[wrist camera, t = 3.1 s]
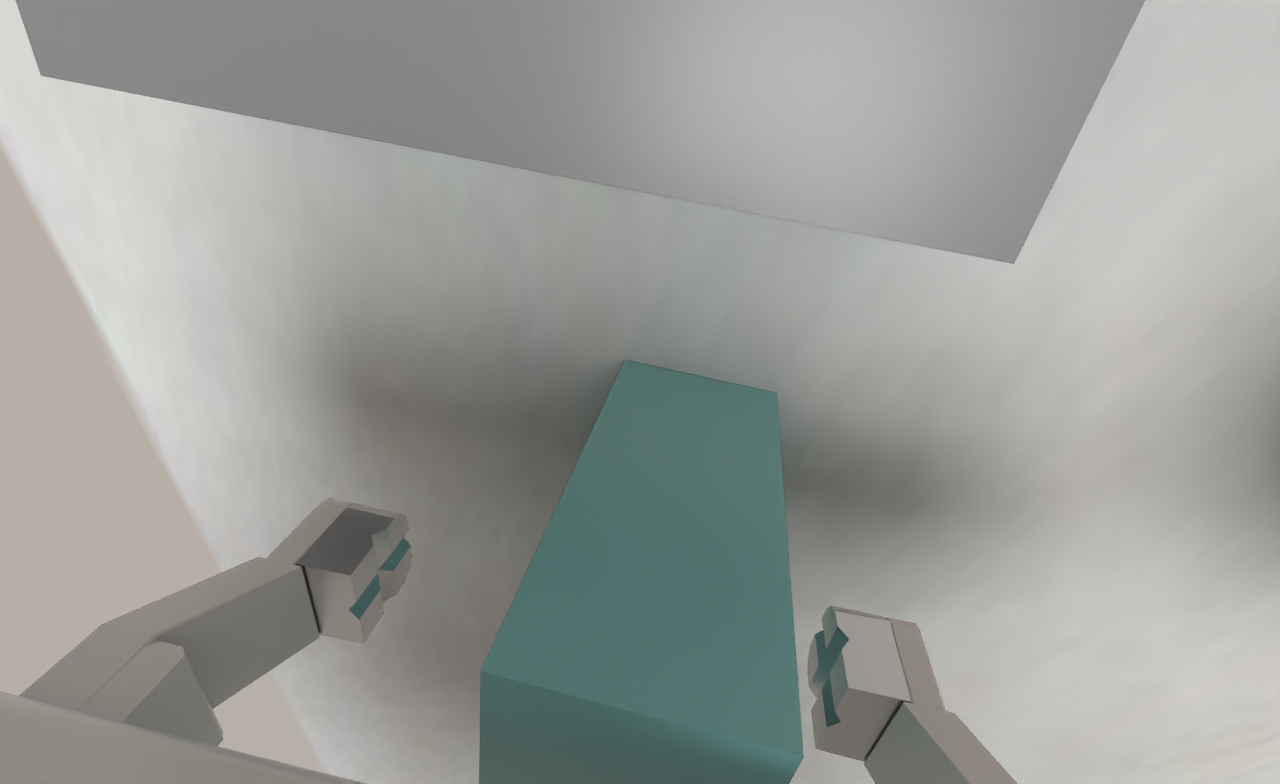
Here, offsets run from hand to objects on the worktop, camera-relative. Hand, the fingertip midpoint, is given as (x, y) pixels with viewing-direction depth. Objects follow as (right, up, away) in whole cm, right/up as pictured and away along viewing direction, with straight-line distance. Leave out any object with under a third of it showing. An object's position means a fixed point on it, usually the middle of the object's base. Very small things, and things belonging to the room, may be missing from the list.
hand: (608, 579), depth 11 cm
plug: (+2, +2, +5) cm, 6 cm away
